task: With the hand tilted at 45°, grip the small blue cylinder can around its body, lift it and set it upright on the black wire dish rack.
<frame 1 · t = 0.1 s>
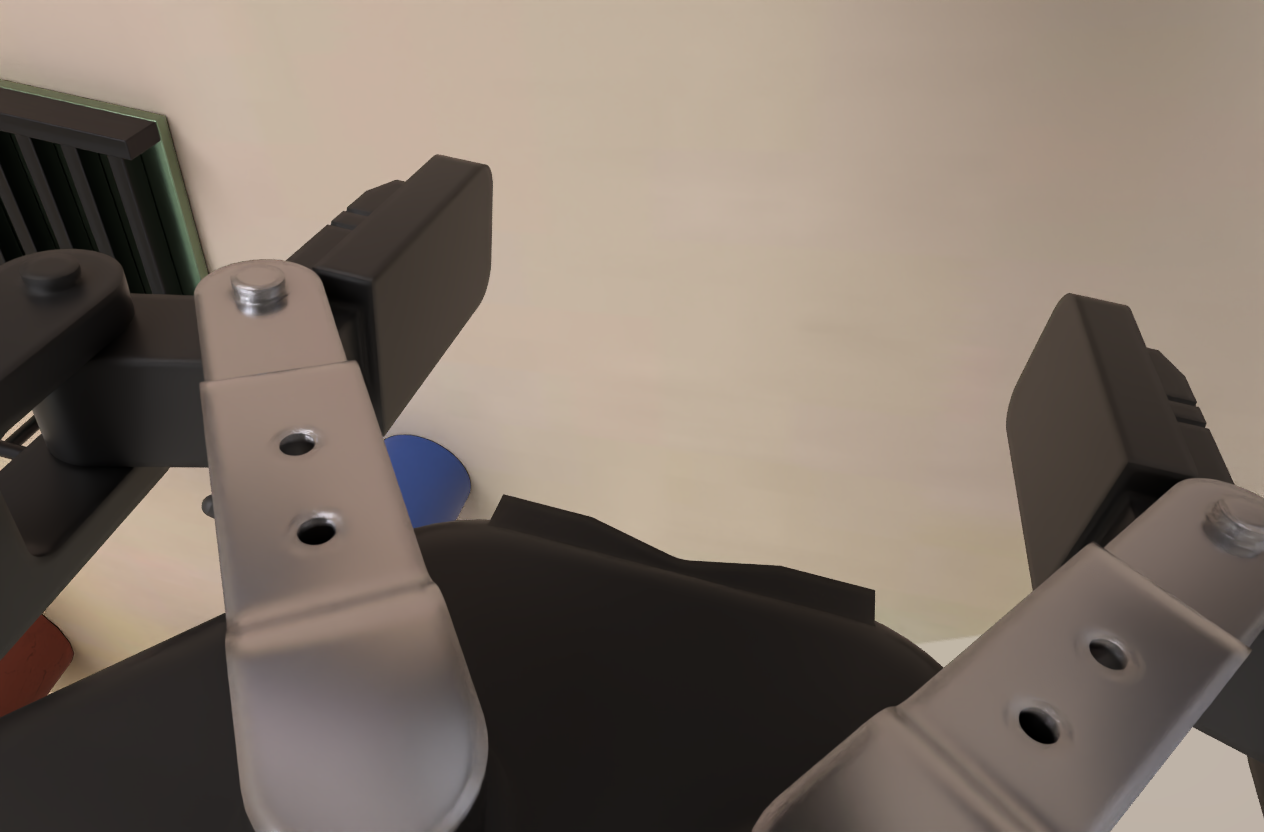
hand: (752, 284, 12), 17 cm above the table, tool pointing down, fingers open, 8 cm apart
potted plant: (40, 642, 71), on the table
dish rack: (101, 258, 40), on the table
blue cylinder can: (422, 472, 45), on the table
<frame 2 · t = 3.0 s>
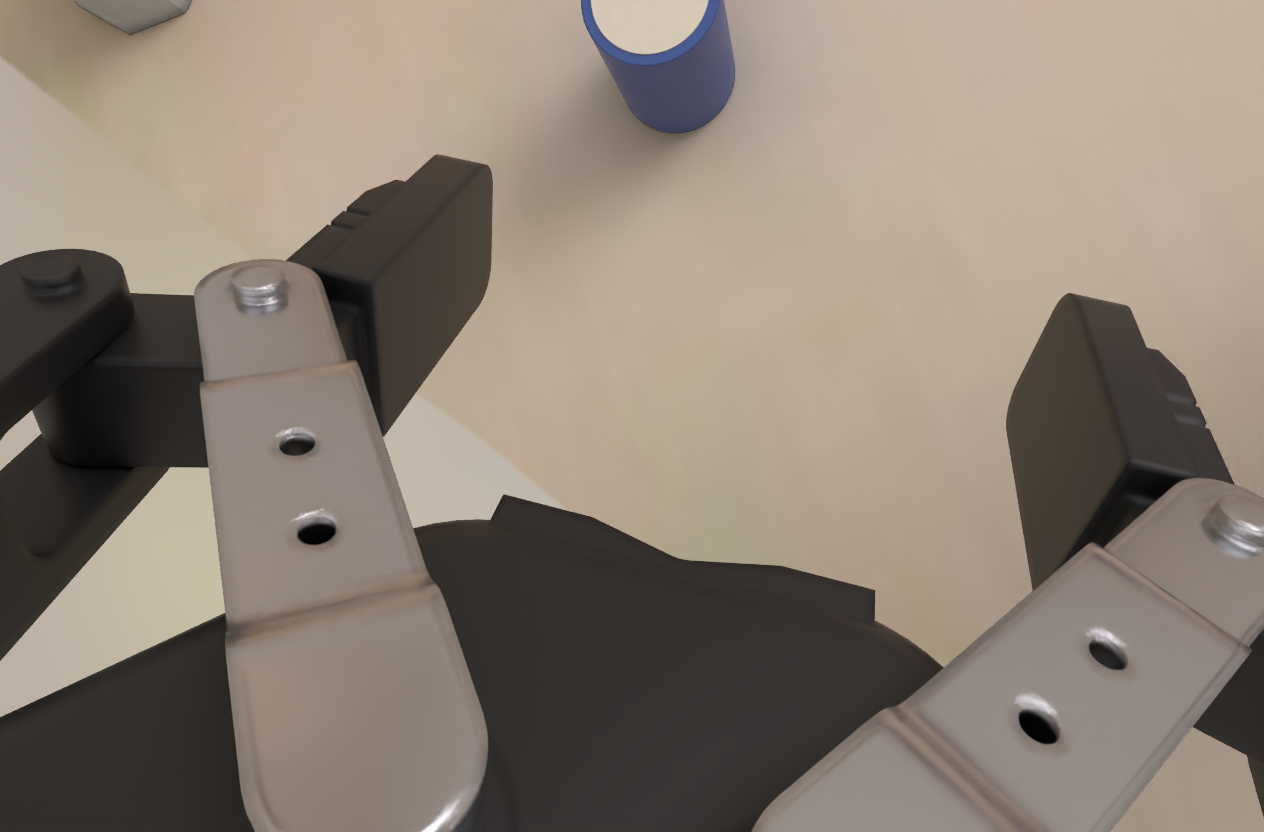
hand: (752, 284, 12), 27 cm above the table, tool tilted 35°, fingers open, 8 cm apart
blue cylinder can: (677, 76, 40), on the table
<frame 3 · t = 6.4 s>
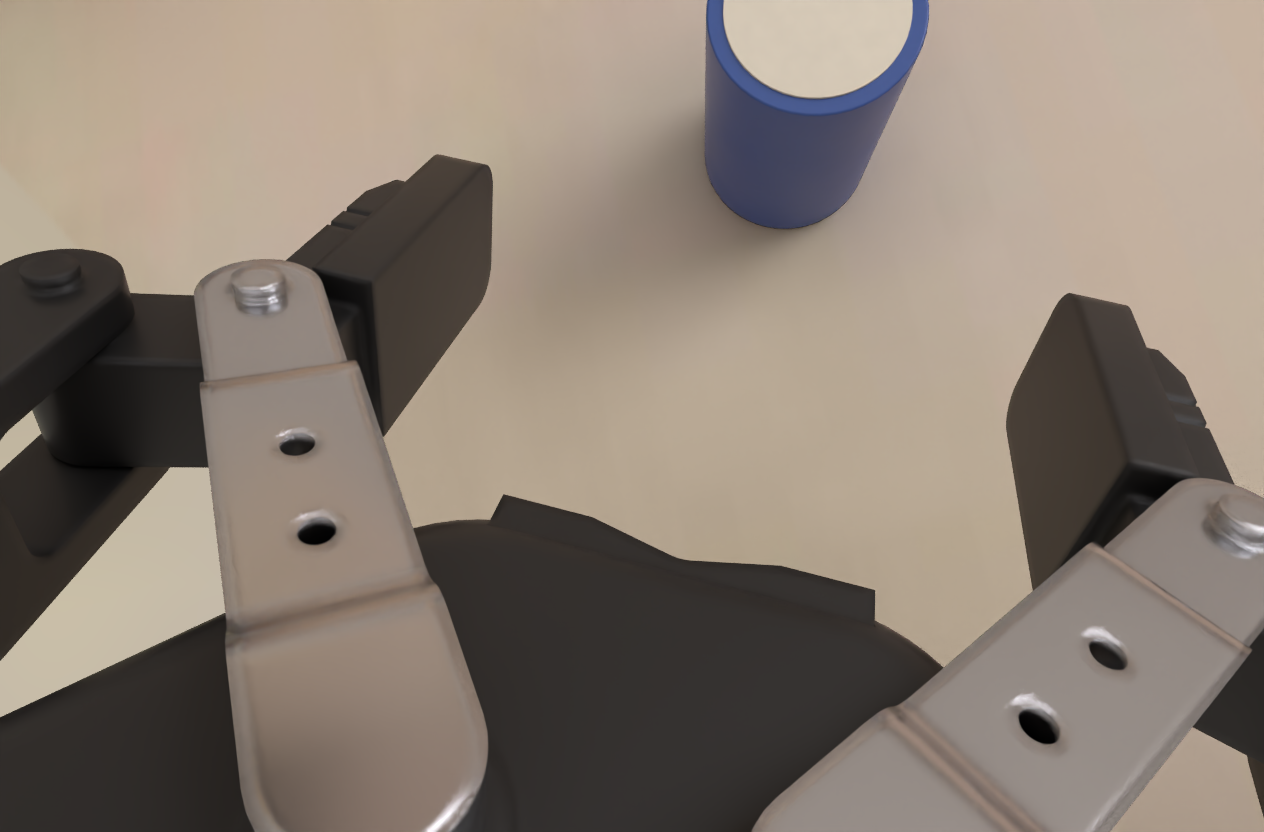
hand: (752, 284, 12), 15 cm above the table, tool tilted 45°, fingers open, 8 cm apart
blue cylinder can: (784, 152, 29), on the table
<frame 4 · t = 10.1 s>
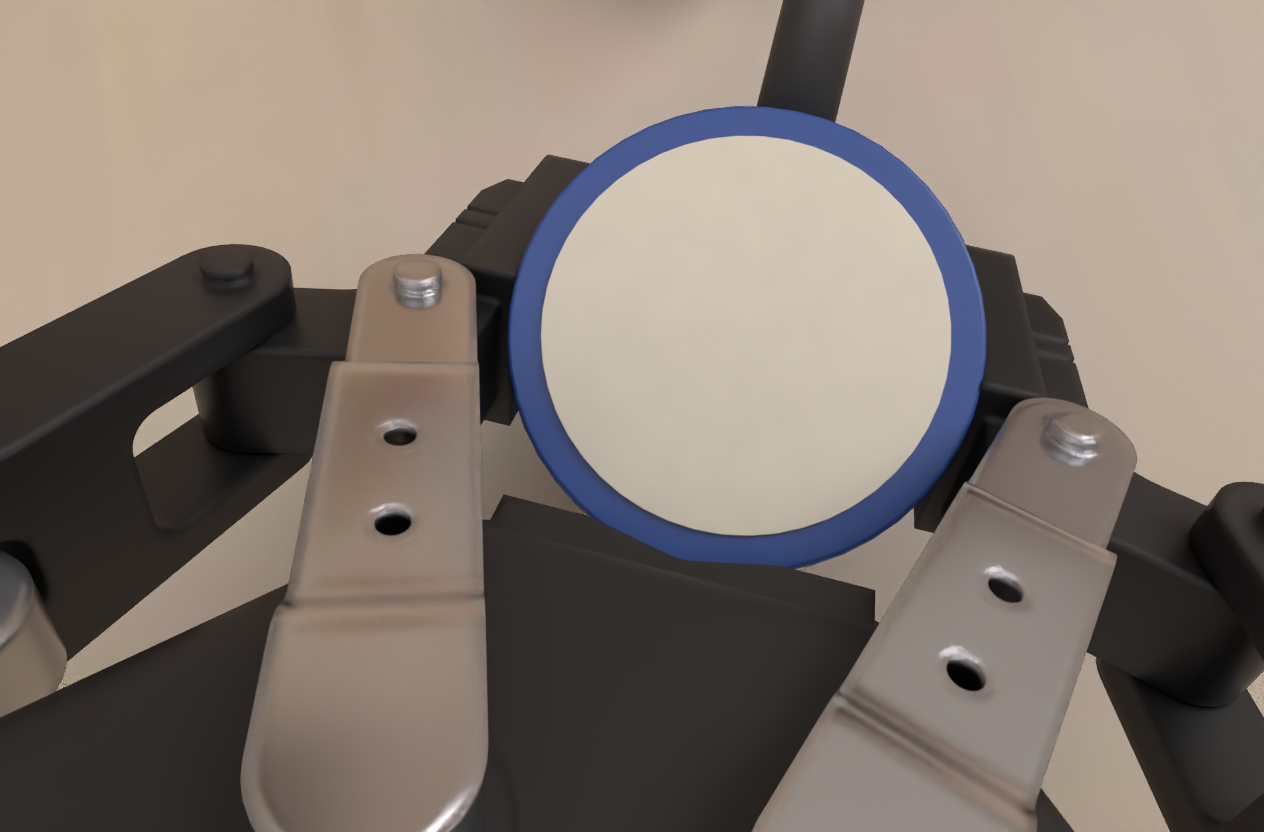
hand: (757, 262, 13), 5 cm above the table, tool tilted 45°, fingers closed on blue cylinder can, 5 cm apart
blue cylinder can: (722, 418, 17), on the table, touching gripper
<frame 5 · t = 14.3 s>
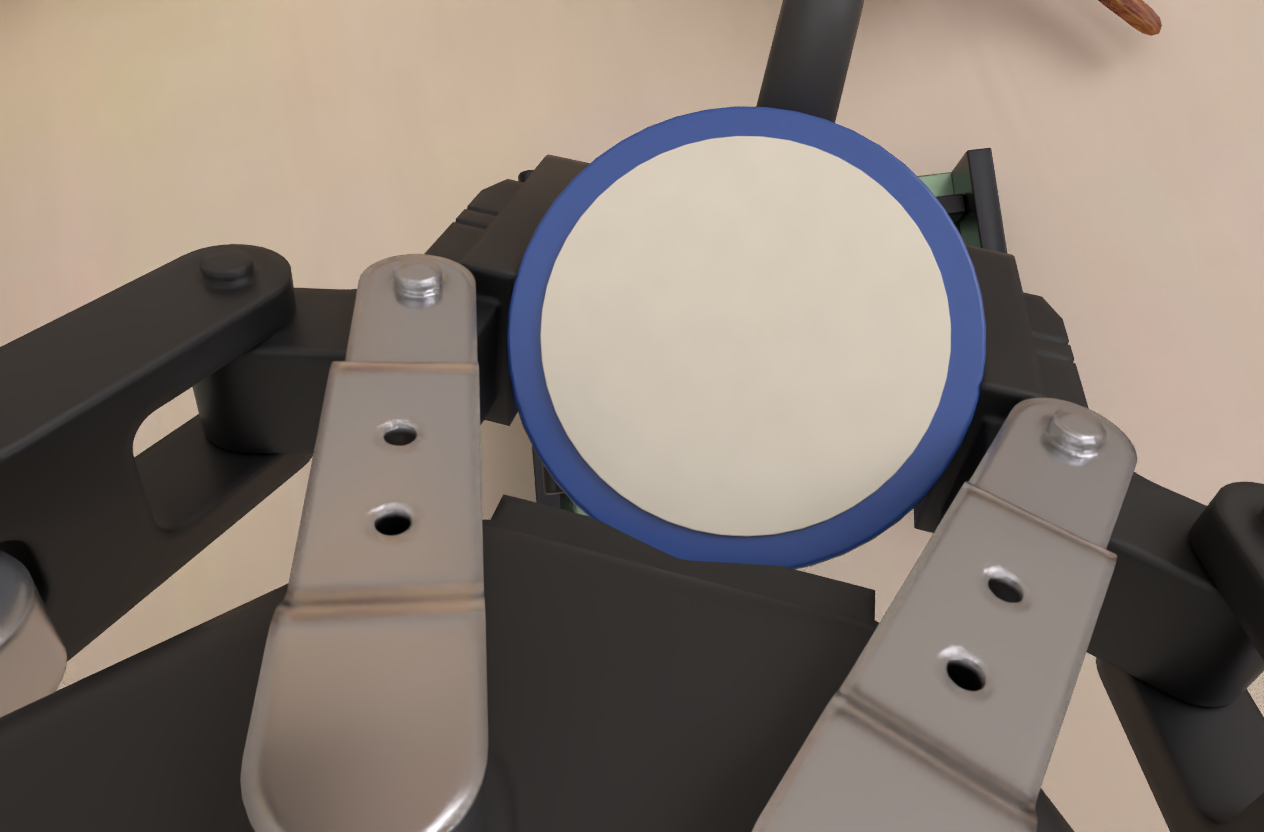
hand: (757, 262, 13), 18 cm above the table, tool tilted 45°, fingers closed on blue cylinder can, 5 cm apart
dish rack: (761, 351, 31), on the table
blue cylinder can: (722, 418, 17), point 13 cm above the table, touching gripper
when the fingers open (6 cm above the table, at t = 18.5 s): blue cylinder can stays where it is, resting on dish rack.
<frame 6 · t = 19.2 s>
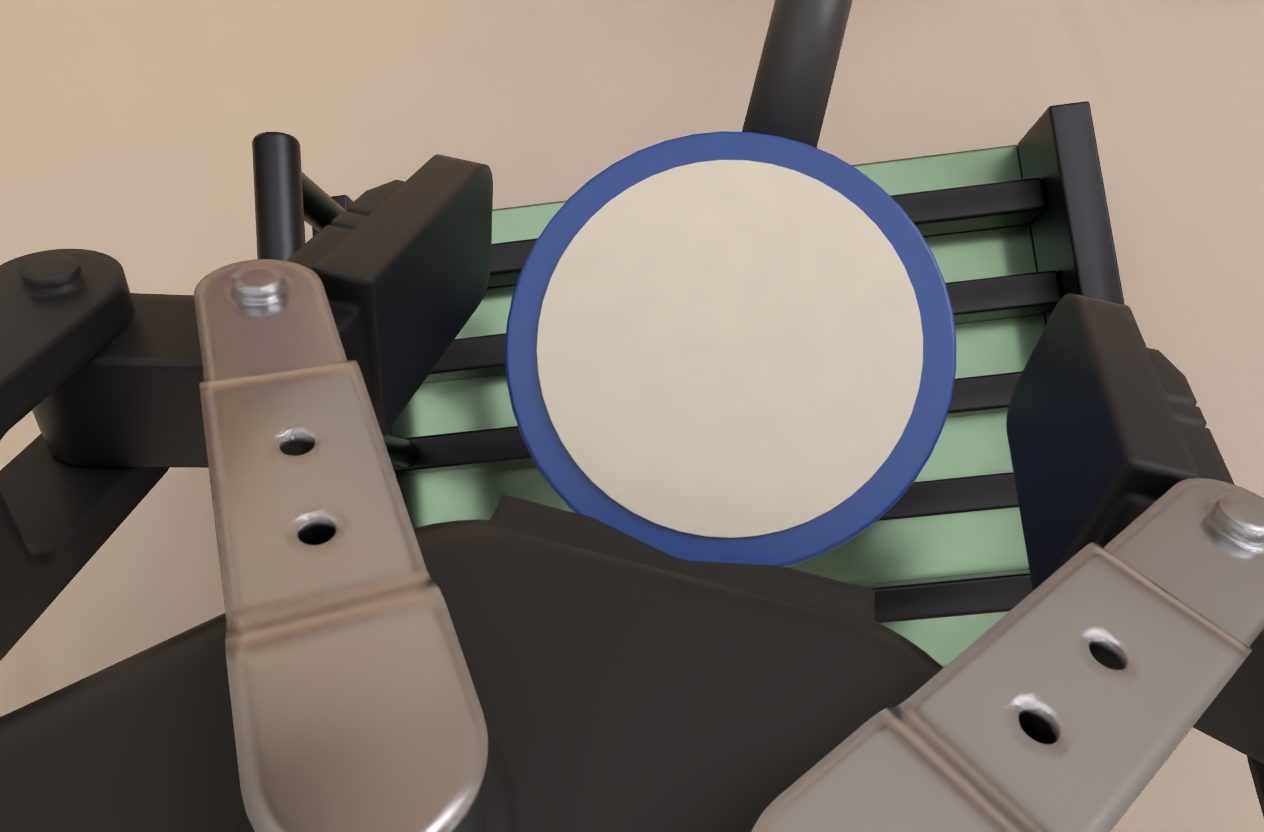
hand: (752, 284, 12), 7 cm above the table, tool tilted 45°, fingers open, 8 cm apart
dish rack: (716, 428, 20), on the table
blue cylinder can: (713, 422, 18), point 2 cm above the table, touching dish rack
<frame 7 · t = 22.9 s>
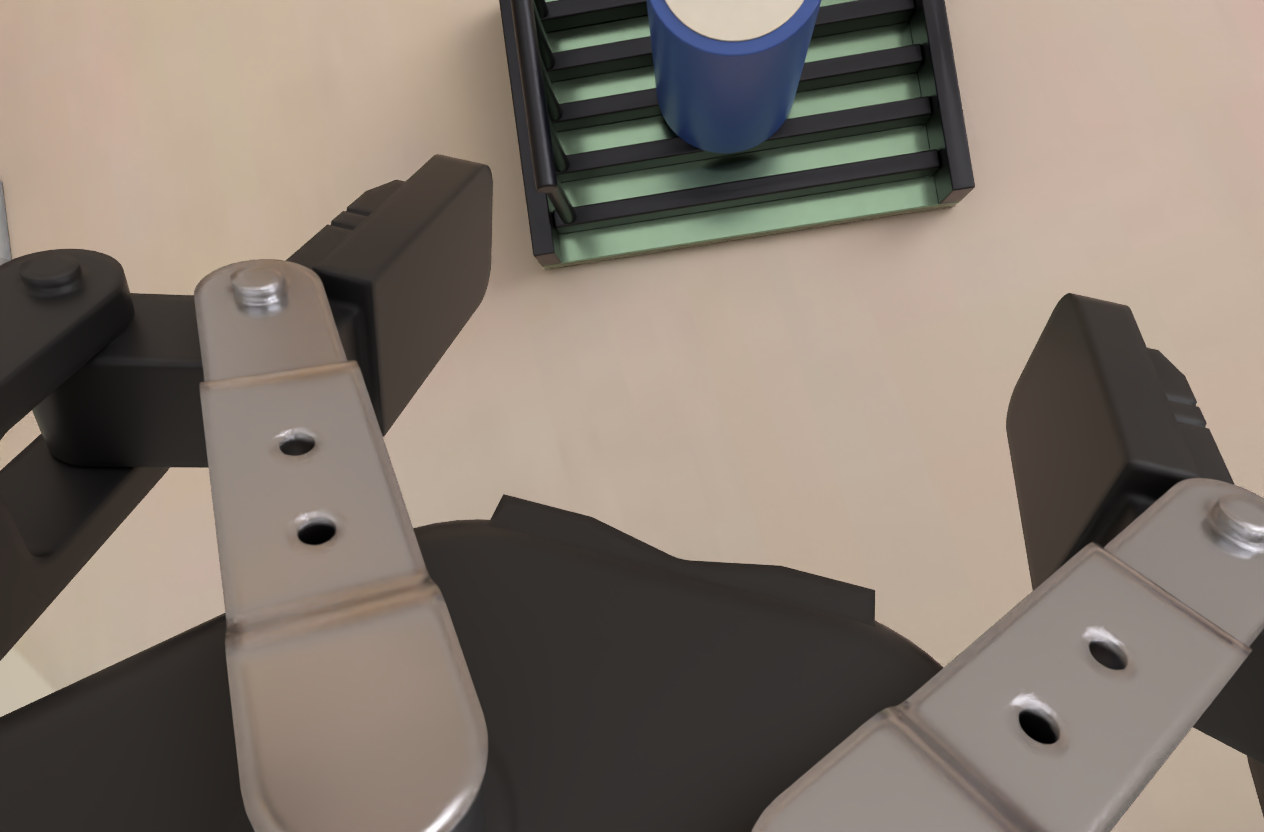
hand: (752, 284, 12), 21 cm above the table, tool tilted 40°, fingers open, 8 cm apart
dish rack: (726, 101, 34), on the table
blue cylinder can: (725, 85, 33), point 2 cm above the table, touching dish rack
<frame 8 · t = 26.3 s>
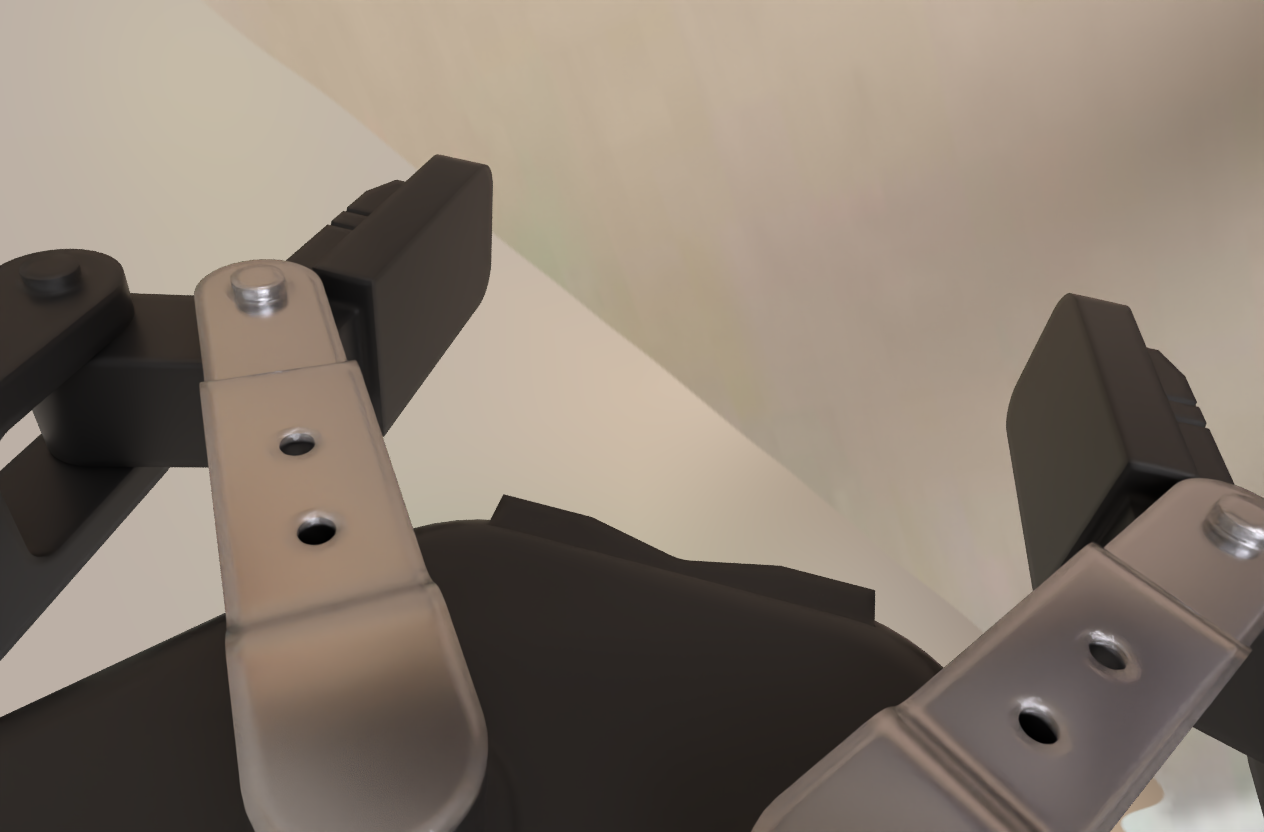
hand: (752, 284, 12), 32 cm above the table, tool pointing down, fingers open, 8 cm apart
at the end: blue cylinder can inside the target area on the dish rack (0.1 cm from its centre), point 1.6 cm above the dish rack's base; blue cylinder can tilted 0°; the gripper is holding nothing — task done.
